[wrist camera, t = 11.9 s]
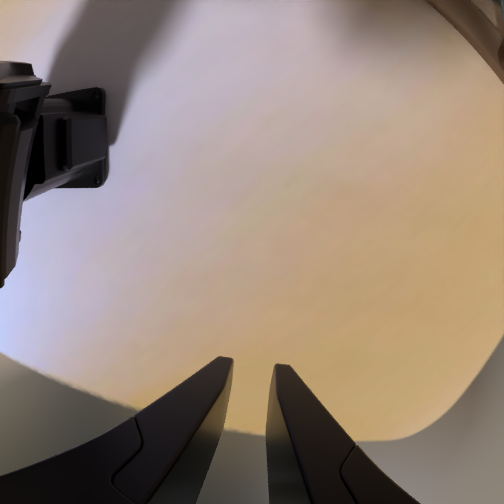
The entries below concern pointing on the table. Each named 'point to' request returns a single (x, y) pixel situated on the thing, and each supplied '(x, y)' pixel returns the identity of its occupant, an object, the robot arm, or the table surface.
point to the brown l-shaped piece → (475, 30)
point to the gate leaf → (503, 5)
